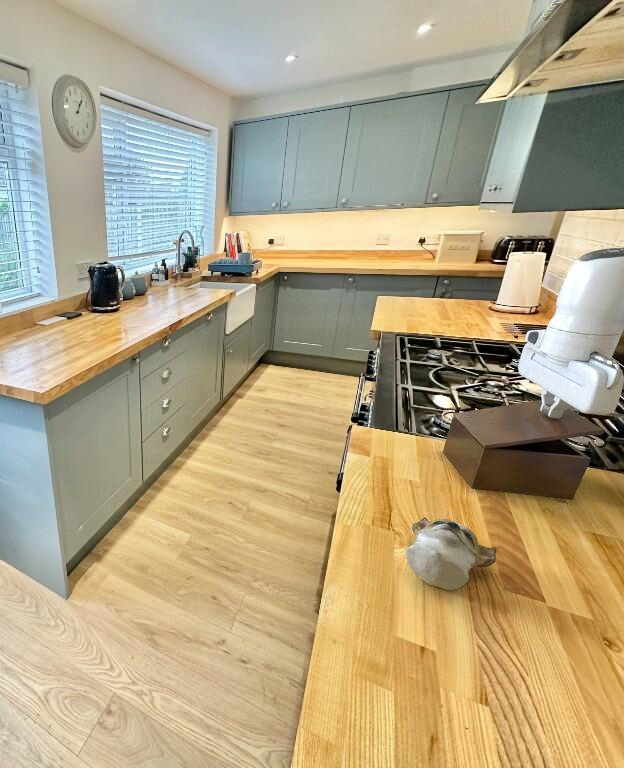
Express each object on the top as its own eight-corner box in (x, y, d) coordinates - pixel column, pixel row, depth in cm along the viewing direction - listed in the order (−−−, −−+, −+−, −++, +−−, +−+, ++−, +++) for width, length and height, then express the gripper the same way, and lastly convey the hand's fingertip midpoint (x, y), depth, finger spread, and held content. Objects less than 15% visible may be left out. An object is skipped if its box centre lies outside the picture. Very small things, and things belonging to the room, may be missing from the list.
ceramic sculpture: (395, 524, 61) (429, 487, 69) (382, 570, 64) (416, 529, 72) (489, 567, 53) (514, 519, 62) (469, 617, 56) (495, 565, 65)
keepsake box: (528, 460, 88) (542, 423, 85) (573, 499, 76) (591, 458, 73) (442, 452, 93) (452, 417, 90) (471, 488, 81) (484, 449, 78)
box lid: (552, 401, 83) (552, 397, 83) (603, 433, 71) (603, 429, 71) (453, 416, 90) (452, 413, 89) (485, 449, 78) (484, 445, 77)
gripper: (651, 365, 63) (614, 444, 68) (561, 330, 81) (537, 395, 86) (598, 363, 65) (566, 440, 70) (521, 329, 83) (500, 392, 88)
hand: (549, 415), depth 78 cm, fingers closed, pressing on box lid
